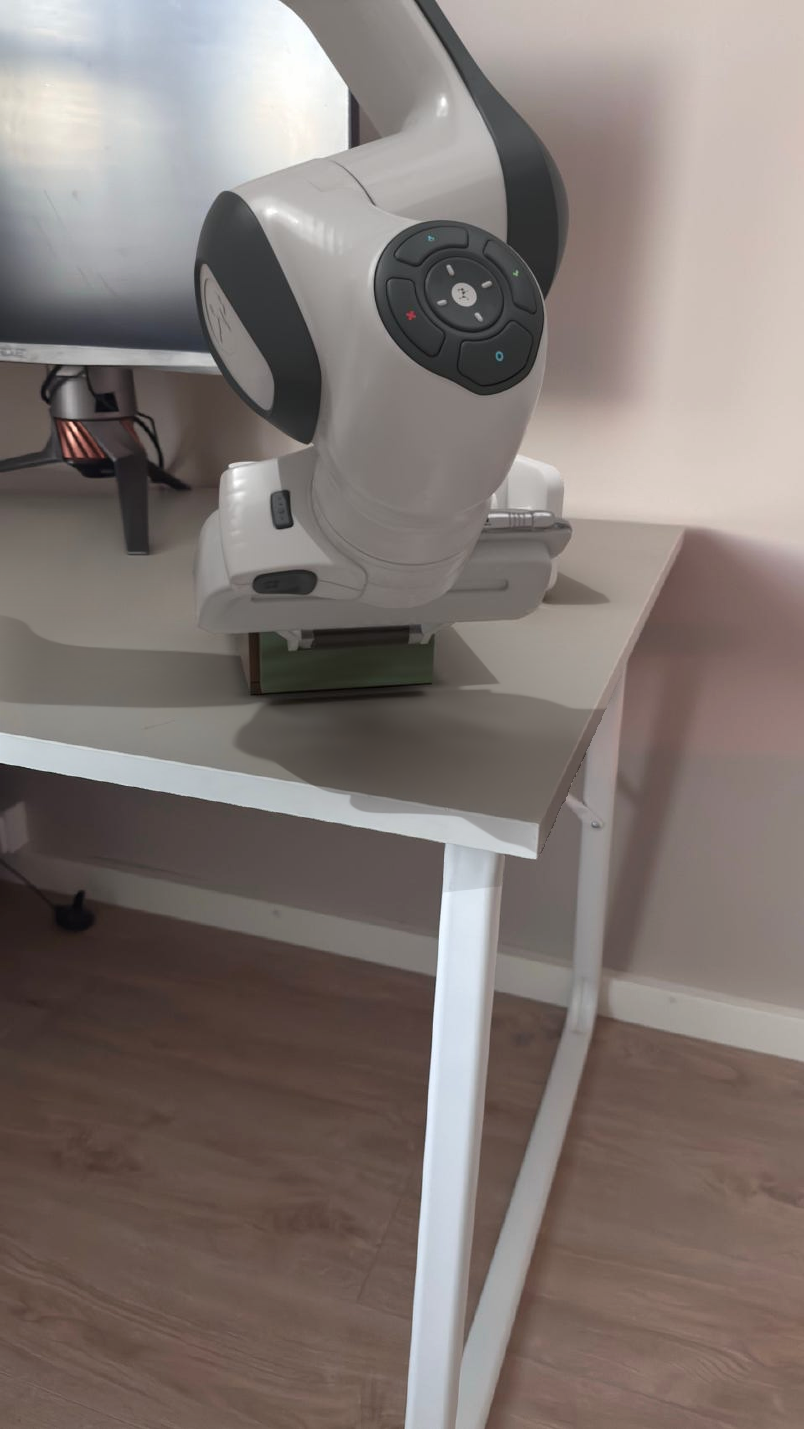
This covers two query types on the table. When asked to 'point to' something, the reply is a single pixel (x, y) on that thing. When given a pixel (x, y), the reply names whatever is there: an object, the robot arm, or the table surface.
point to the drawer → (345, 660)
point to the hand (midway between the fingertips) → (355, 637)
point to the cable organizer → (532, 493)
